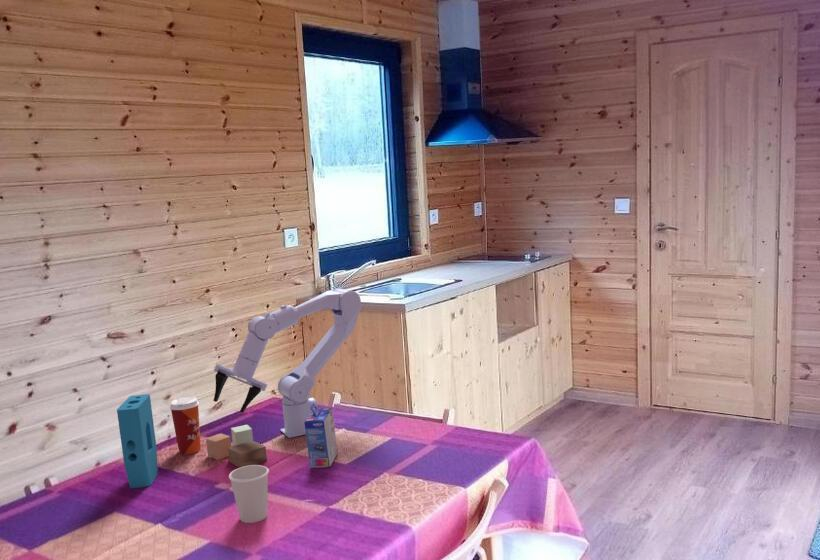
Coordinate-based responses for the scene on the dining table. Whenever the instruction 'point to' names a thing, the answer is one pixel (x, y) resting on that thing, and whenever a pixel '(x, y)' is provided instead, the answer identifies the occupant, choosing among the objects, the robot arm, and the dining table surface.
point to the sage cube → (241, 434)
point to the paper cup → (186, 424)
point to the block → (138, 440)
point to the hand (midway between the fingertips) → (228, 406)
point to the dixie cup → (250, 492)
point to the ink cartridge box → (320, 437)
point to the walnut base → (247, 454)
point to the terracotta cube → (218, 446)
